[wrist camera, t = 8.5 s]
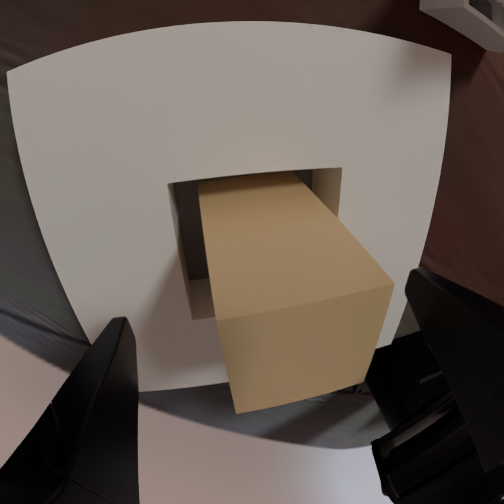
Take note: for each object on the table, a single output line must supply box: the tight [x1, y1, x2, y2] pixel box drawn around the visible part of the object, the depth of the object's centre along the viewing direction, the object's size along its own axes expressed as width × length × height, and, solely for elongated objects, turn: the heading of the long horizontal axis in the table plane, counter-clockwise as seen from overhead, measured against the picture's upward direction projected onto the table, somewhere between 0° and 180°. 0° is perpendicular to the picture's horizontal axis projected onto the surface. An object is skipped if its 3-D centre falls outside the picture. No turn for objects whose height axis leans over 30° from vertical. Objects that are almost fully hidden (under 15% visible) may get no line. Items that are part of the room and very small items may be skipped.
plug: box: [197, 170, 395, 414], centre depth 11 cm, size 4×4×8 cm
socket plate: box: [7, 21, 451, 392], centre depth 13 cm, size 16×16×3 cm
